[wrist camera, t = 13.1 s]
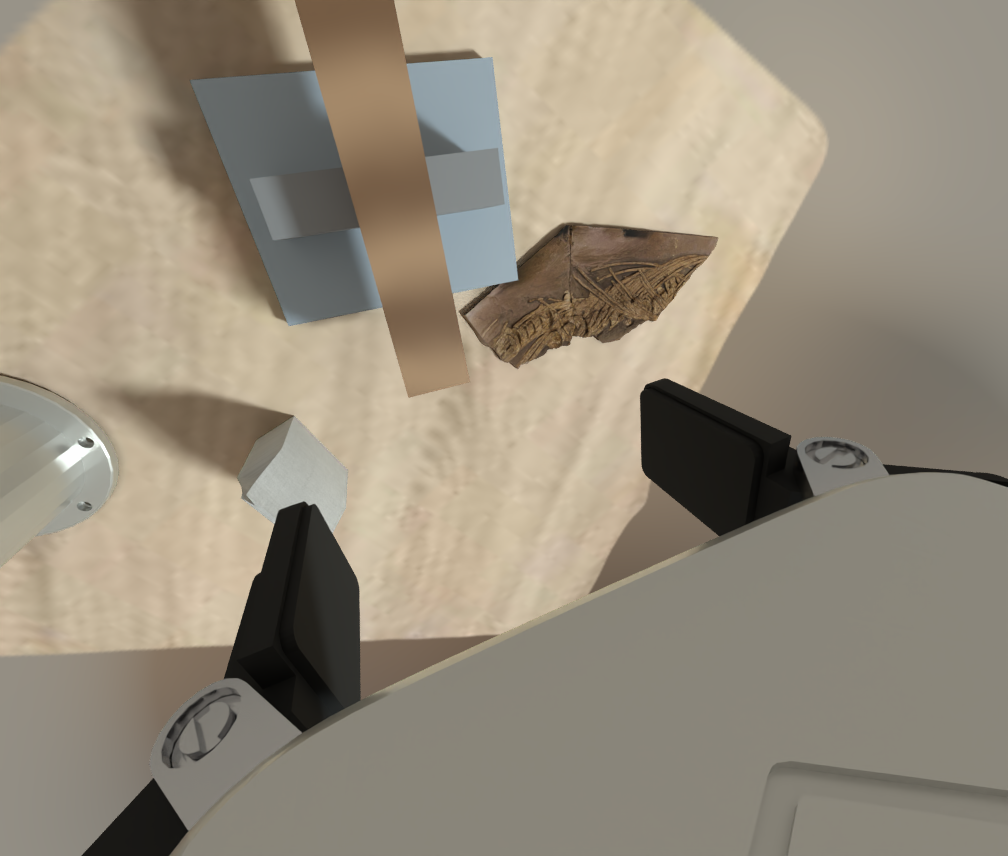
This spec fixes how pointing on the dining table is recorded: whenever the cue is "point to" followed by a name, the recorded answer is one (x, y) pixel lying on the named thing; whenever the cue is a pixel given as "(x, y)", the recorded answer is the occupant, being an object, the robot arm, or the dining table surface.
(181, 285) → the dining table surface
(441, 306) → the walnut bar
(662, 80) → the dining table surface
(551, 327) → the wooden fragment
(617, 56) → the dining table surface
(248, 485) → the grey pointed block
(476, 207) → the ridge stand
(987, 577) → the robot arm
